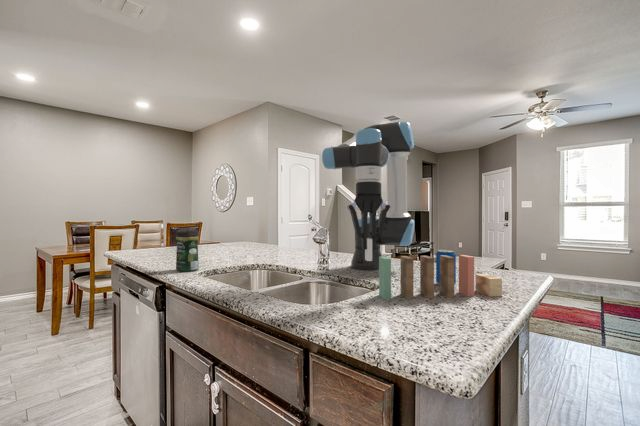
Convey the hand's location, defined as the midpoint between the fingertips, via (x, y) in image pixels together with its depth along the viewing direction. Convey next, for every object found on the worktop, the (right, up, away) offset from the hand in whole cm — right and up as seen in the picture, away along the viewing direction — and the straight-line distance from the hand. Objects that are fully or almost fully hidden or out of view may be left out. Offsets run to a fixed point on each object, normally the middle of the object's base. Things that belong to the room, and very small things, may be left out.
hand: (368, 260), depth 94 cm
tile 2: (+12, -11, +2) cm, 16 cm away
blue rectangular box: (+30, -11, +17) cm, 36 cm away
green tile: (+5, -11, +1) cm, 12 cm away
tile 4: (+25, -11, +3) cm, 27 cm away
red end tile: (+31, -11, +4) cm, 34 cm away
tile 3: (+18, -11, +2) cm, 22 cm away
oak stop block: (+39, -11, +5) cm, 41 cm away
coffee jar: (-73, -11, +44) cm, 86 cm away
